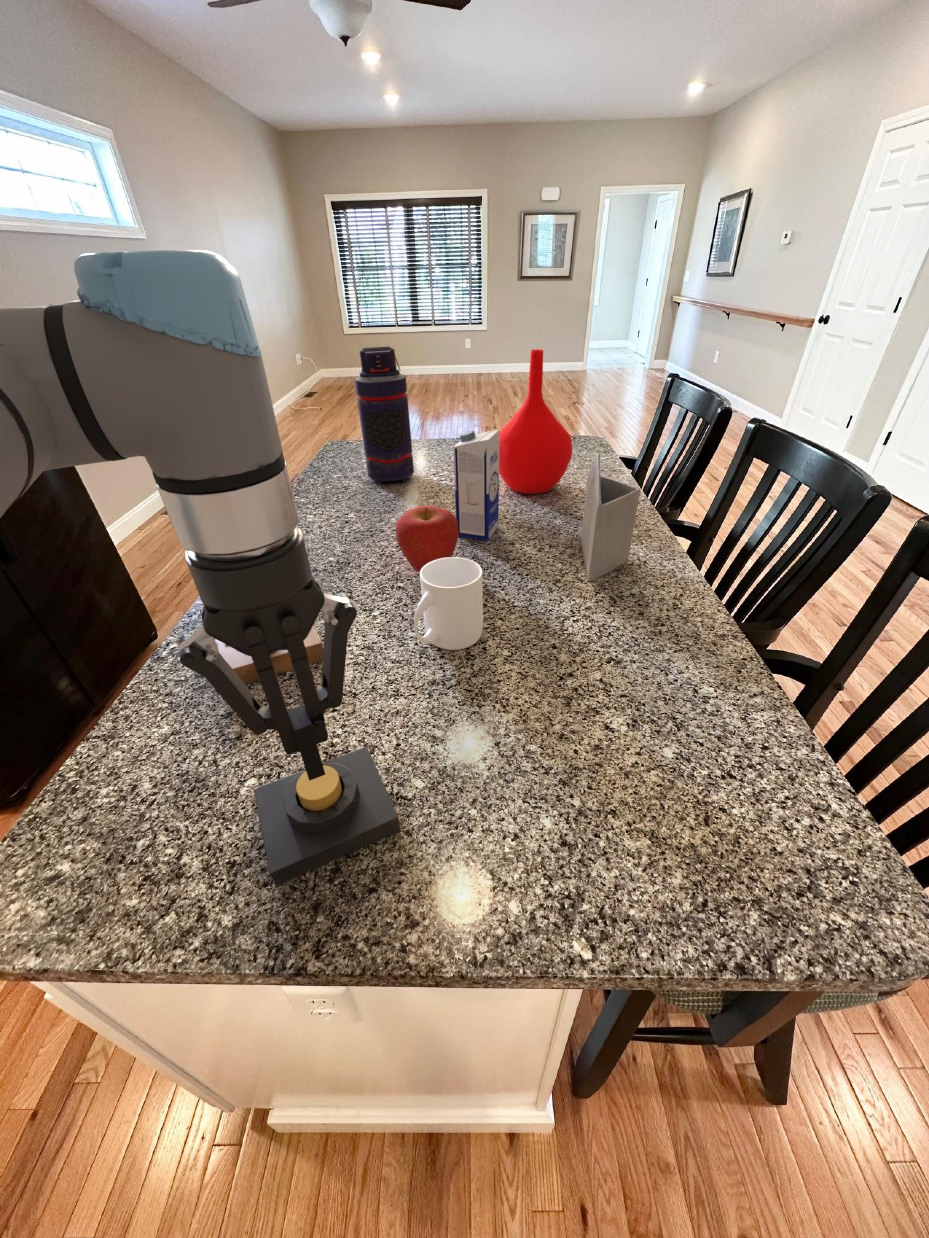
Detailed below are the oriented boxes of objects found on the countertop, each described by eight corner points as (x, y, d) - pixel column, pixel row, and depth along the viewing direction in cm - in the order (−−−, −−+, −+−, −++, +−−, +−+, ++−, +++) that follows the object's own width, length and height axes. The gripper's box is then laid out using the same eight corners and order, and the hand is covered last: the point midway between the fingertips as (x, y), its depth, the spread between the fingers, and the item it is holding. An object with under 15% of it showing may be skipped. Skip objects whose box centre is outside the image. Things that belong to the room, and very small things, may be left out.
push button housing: (275, 886, 46) (264, 862, 44) (259, 801, 54) (248, 777, 51) (400, 830, 50) (396, 805, 48) (369, 758, 58) (364, 734, 55)
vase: (571, 476, 130) (583, 344, 113) (566, 503, 116) (579, 357, 99) (500, 472, 134) (501, 344, 117) (486, 498, 120) (486, 356, 103)
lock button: (304, 818, 48) (300, 806, 47) (296, 786, 51) (292, 774, 50) (346, 801, 49) (343, 789, 48) (335, 770, 52) (332, 759, 51)
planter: (635, 582, 87) (657, 470, 76) (588, 581, 88) (602, 470, 77) (621, 540, 100) (637, 439, 89) (580, 539, 101) (591, 439, 90)
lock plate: (220, 691, 68) (213, 673, 66) (213, 643, 76) (206, 625, 75) (325, 659, 73) (321, 641, 71) (307, 617, 81) (303, 600, 80)
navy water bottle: (416, 483, 129) (405, 350, 112) (369, 488, 128) (350, 353, 111) (411, 466, 140) (400, 342, 123) (367, 470, 139) (350, 345, 122)
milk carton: (488, 541, 101) (487, 438, 90) (456, 537, 103) (452, 435, 92) (498, 527, 107) (499, 428, 95) (468, 523, 109) (465, 425, 97)
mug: (396, 647, 74) (388, 584, 68) (452, 611, 82) (449, 551, 75) (439, 672, 70) (434, 606, 63) (494, 631, 77) (495, 569, 71)
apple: (400, 558, 97) (393, 497, 90) (457, 554, 97) (454, 493, 90) (400, 589, 88) (392, 524, 81) (462, 584, 88) (460, 519, 81)
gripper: (325, 498, 39) (368, 716, 53) (135, 536, 35) (235, 764, 48) (354, 535, 34) (394, 769, 47) (131, 586, 29) (246, 829, 43)
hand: (314, 766), depth 48 cm, fingers closed
